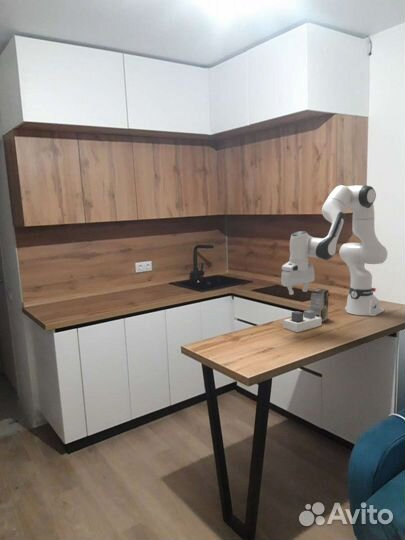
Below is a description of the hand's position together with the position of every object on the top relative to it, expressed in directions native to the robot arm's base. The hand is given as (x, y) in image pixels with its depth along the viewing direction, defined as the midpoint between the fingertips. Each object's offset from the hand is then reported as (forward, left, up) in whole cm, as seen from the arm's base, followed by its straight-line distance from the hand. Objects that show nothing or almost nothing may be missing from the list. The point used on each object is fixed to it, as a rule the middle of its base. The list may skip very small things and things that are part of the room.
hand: (298, 293), depth 201 cm
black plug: (0, 0, -17) cm, 17 cm away
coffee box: (-20, -3, -18) cm, 27 cm away
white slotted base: (-4, 0, -18) cm, 18 cm away
